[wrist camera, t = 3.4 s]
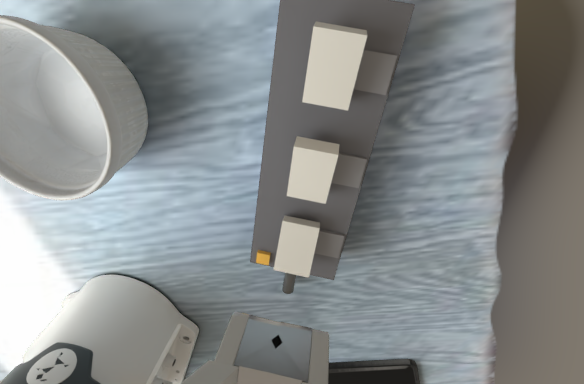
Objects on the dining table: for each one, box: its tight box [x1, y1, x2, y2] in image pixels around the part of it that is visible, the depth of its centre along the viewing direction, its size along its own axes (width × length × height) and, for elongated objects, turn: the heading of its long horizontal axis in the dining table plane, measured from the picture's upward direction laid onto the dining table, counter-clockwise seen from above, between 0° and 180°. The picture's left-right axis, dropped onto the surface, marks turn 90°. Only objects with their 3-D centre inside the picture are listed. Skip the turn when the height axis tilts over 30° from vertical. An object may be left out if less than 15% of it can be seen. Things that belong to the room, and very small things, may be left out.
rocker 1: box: [302, 22, 367, 111], centre depth 18 cm, size 4×3×1 cm
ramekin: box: [0, 15, 148, 200], centre depth 24 cm, size 13×13×7 cm
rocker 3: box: [273, 216, 320, 278], centre depth 24 cm, size 4×3×1 cm
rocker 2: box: [287, 136, 339, 204], centre depth 21 cm, size 4×3×1 cm
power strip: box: [250, 0, 415, 294], centre depth 25 cm, size 27×8×5 cm, turn 171°
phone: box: [328, 359, 420, 384], centre depth 40 cm, size 8×1×15 cm
